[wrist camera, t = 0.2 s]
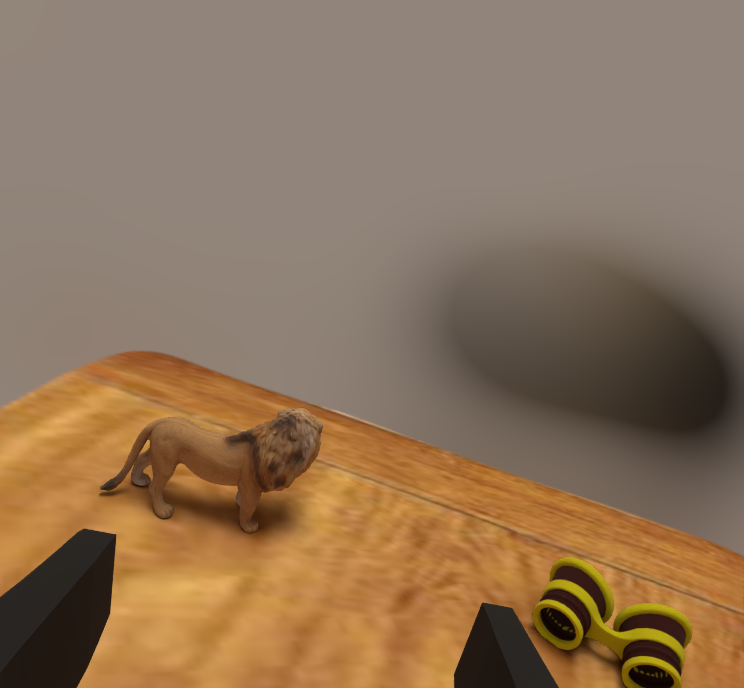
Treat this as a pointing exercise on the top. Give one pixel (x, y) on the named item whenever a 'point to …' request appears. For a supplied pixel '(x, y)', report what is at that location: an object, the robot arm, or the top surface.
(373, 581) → the top surface
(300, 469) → the lion figurine
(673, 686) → the opera glasses
